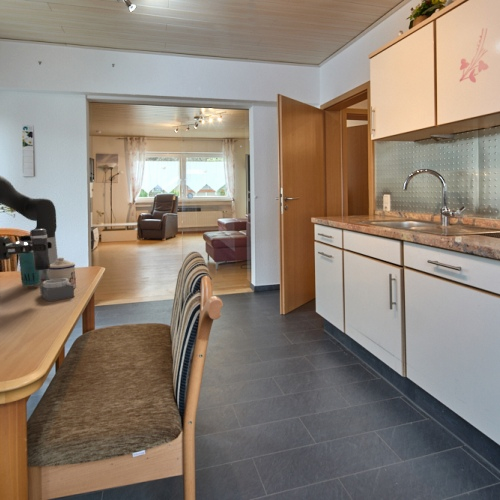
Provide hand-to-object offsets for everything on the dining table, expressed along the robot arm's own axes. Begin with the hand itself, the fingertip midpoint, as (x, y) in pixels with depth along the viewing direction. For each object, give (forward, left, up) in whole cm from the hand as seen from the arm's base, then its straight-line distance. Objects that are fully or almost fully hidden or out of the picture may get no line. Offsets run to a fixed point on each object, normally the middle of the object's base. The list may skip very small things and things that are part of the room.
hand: (48, 246), depth 129 cm
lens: (-1, -2, -7) cm, 8 cm away
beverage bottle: (-22, -2, -18) cm, 29 cm away
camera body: (-1, +1, -18) cm, 18 cm away
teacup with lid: (-13, +7, -18) cm, 23 cm away
